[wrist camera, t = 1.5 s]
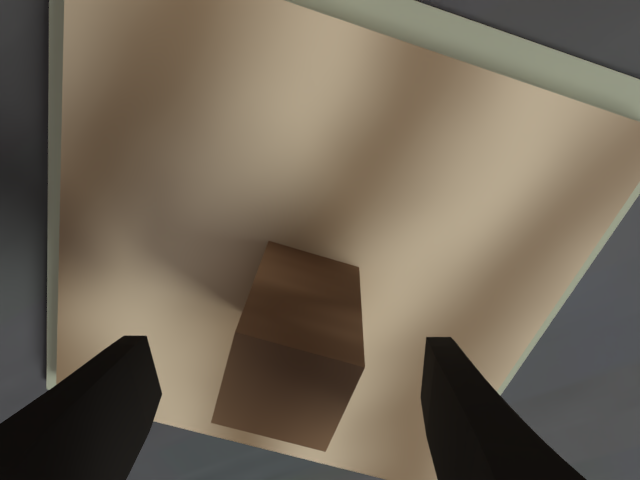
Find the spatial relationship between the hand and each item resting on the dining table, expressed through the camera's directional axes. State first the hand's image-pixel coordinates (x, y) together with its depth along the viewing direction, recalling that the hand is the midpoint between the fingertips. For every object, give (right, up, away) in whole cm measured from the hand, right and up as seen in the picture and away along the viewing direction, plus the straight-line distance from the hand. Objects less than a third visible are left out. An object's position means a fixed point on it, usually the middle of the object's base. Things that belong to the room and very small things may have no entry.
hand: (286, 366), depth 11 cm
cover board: (0, +2, +4) cm, 4 cm away
